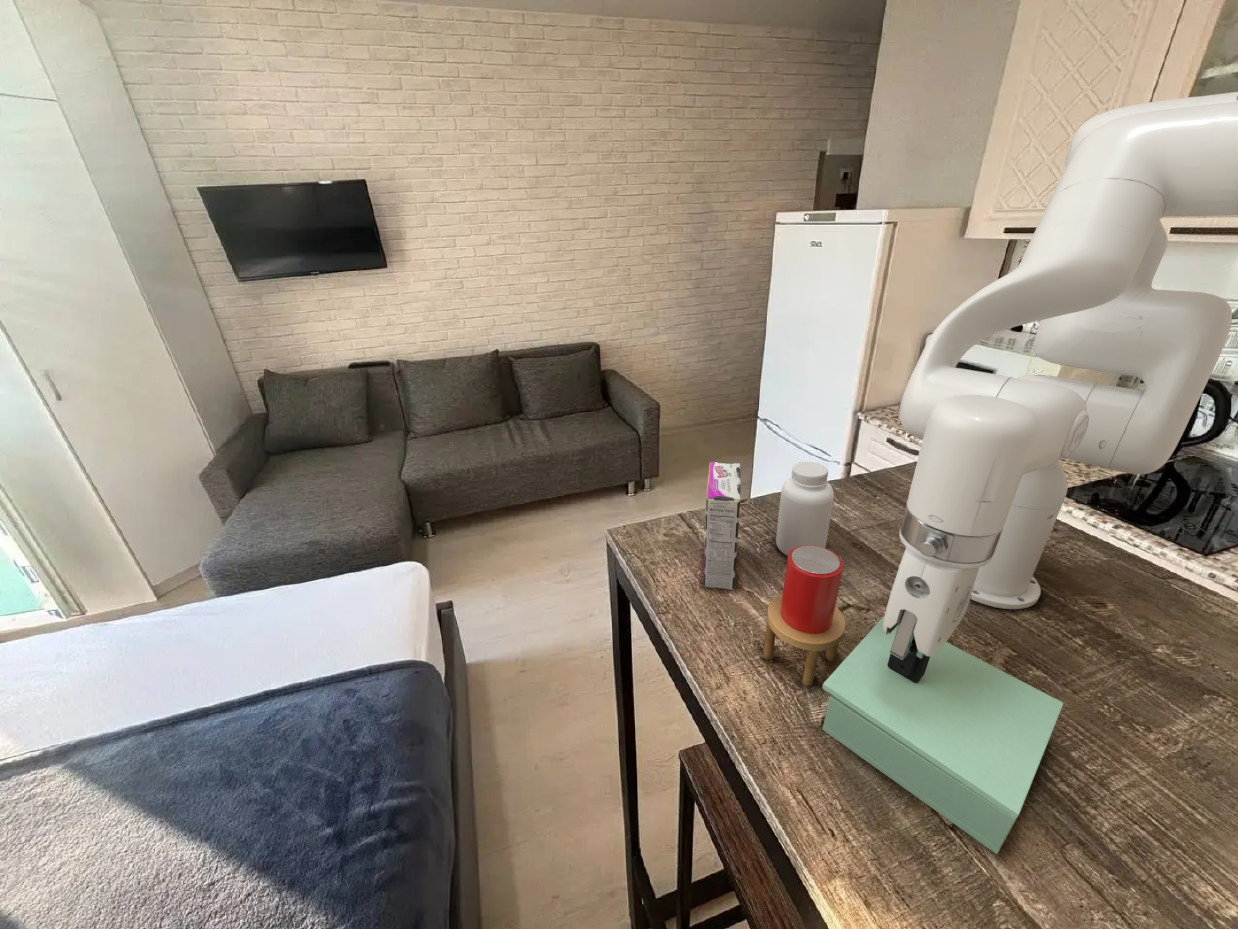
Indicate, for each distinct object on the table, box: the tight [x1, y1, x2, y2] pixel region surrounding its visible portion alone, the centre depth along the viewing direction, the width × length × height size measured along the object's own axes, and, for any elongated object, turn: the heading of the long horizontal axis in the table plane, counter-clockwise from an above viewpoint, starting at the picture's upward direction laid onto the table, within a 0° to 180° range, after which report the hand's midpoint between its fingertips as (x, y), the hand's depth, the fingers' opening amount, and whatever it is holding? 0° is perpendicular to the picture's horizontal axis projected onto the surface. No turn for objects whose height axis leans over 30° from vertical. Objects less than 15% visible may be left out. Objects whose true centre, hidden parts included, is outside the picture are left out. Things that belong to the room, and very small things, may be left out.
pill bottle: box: [775, 461, 835, 557], centre depth 83 cm, size 8×8×15 cm
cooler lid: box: [821, 614, 1064, 820], centre depth 53 cm, size 18×16×1 cm
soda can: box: [780, 545, 844, 634], centre depth 60 cm, size 6×6×9 cm
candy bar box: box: [703, 461, 742, 591], centre depth 78 cm, size 11×5×16 cm, turn 168°
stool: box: [762, 592, 846, 687], centre depth 64 cm, size 9×9×7 cm
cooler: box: [822, 694, 1017, 855], centre depth 54 cm, size 17×16×5 cm
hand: (905, 671), depth 55 cm, fingers closed
